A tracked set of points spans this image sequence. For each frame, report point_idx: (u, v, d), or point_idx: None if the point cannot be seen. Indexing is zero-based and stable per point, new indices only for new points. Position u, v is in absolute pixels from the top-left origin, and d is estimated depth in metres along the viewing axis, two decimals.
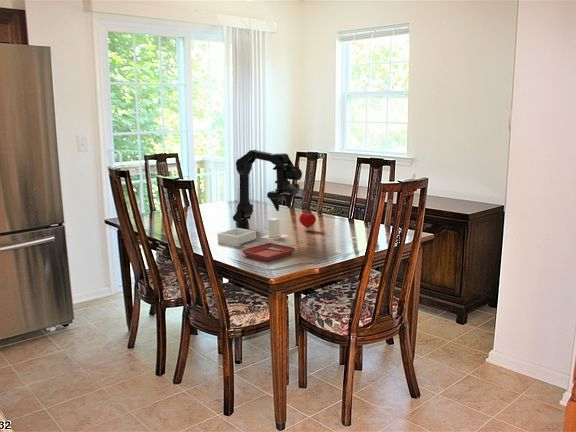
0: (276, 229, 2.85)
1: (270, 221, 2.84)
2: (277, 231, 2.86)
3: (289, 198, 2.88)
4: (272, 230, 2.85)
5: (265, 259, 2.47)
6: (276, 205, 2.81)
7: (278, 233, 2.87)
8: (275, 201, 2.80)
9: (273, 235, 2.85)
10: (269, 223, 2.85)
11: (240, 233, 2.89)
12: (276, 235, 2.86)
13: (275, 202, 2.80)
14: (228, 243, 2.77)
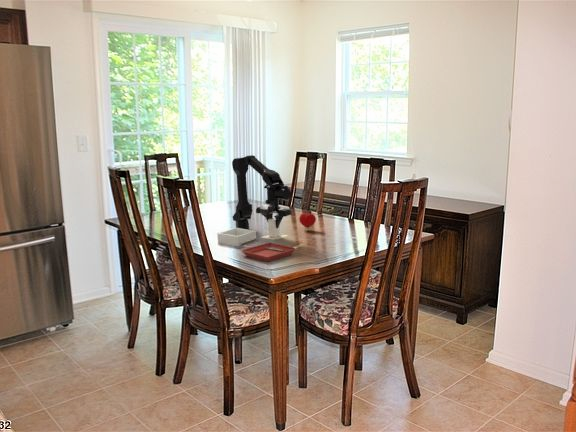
0: (276, 229, 2.85)
1: (270, 221, 2.84)
2: (277, 231, 2.86)
3: None
4: (272, 230, 2.85)
5: (265, 259, 2.47)
6: None
7: (278, 233, 2.87)
8: None
9: (273, 235, 2.85)
10: (269, 223, 2.85)
11: (240, 233, 2.89)
12: (276, 235, 2.86)
13: None
14: (228, 243, 2.77)
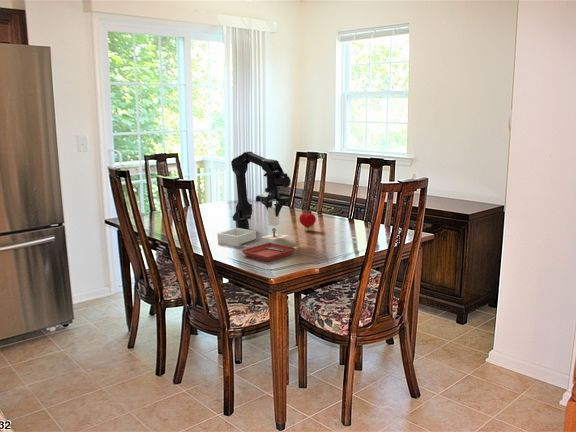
0: (276, 217, 2.84)
1: (270, 209, 2.83)
2: (277, 219, 2.85)
3: None
4: (272, 218, 2.83)
5: (265, 259, 2.47)
6: None
7: (278, 221, 2.85)
8: None
9: (273, 223, 2.84)
10: (269, 211, 2.84)
11: (240, 233, 2.89)
12: (276, 223, 2.84)
13: None
14: (228, 243, 2.77)
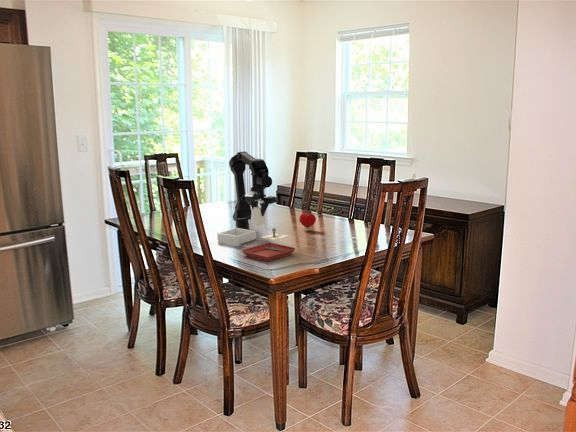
0: (262, 217, 2.82)
1: (255, 209, 2.81)
2: (263, 219, 2.83)
3: None
4: (258, 218, 2.82)
5: (265, 259, 2.47)
6: None
7: (264, 221, 2.84)
8: None
9: (258, 223, 2.82)
10: (254, 210, 2.82)
11: (240, 233, 2.89)
12: (262, 223, 2.83)
13: None
14: (228, 243, 2.77)
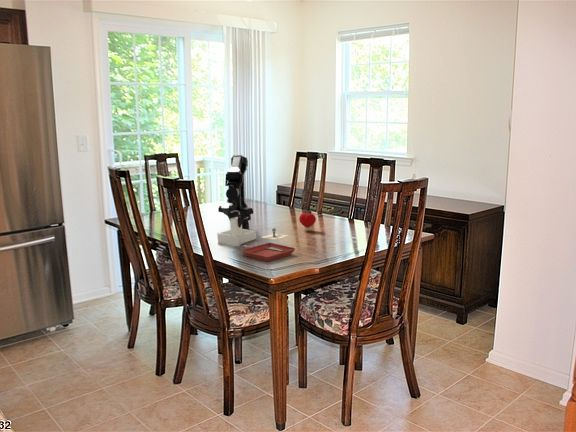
0: (238, 228, 2.80)
1: (232, 220, 2.79)
2: (239, 230, 2.81)
3: None
4: (234, 229, 2.80)
5: (265, 259, 2.47)
6: None
7: (241, 232, 2.82)
8: None
9: (235, 234, 2.80)
10: (231, 222, 2.80)
11: None
12: (238, 234, 2.80)
13: None
14: (228, 243, 2.77)
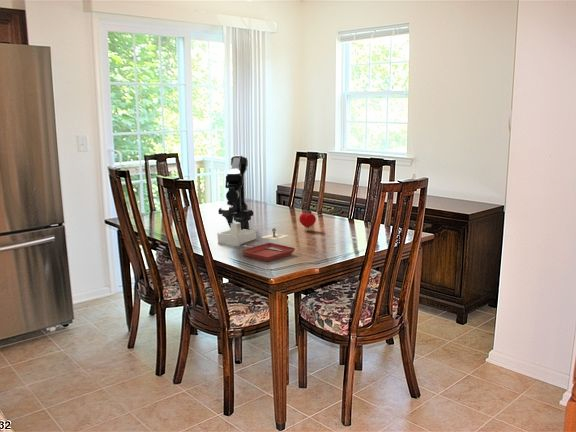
0: (239, 233, 2.80)
1: (232, 225, 2.80)
2: None
3: None
4: (235, 234, 2.80)
5: (265, 259, 2.47)
6: None
7: None
8: None
9: None
10: (231, 227, 2.80)
11: None
12: None
13: None
14: (228, 243, 2.77)
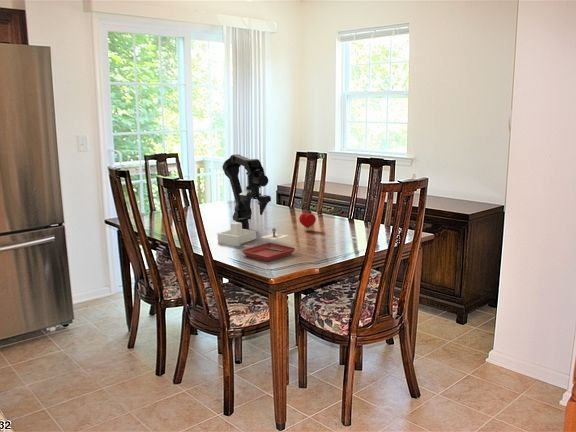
0: (239, 233, 2.80)
1: (232, 225, 2.80)
2: None
3: None
4: (235, 234, 2.80)
5: (265, 259, 2.47)
6: None
7: None
8: None
9: None
10: (231, 227, 2.80)
11: None
12: None
13: None
14: (228, 243, 2.77)
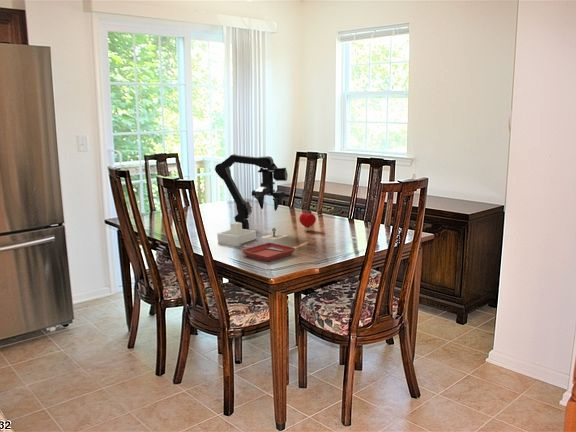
0: (239, 233, 2.80)
1: (232, 225, 2.80)
2: None
3: None
4: (235, 234, 2.80)
5: (265, 259, 2.47)
6: None
7: None
8: None
9: None
10: (231, 227, 2.80)
11: None
12: None
13: None
14: (228, 243, 2.77)
